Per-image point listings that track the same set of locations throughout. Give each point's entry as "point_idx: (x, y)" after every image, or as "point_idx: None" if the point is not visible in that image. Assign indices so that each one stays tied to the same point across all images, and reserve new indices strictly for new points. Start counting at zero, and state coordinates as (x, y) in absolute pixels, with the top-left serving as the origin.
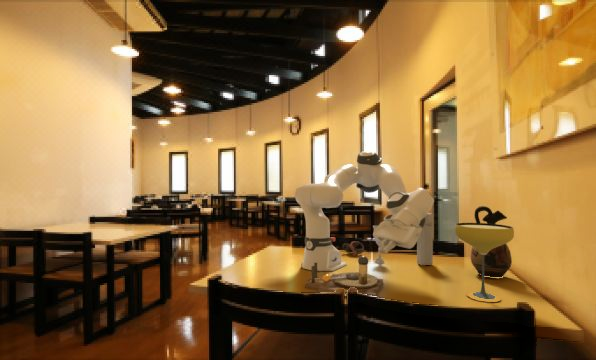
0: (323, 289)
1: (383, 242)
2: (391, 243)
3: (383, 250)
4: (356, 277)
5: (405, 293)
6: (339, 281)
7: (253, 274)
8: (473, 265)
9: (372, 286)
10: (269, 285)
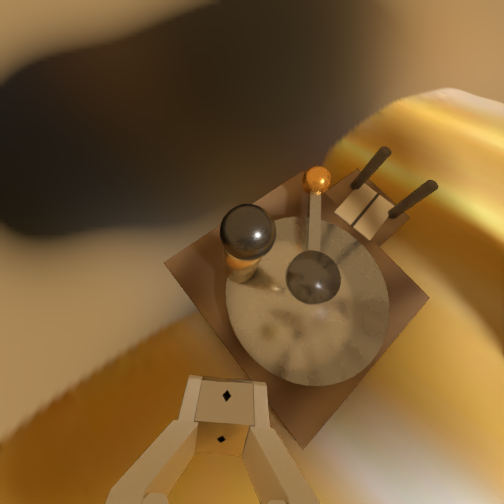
0: (291, 179)
1: (279, 478)
2: (108, 495)
3: (204, 377)
4: (288, 273)
5: (157, 435)
6: (296, 217)
7: (492, 142)
8: None
9: (226, 306)
10: (395, 129)
